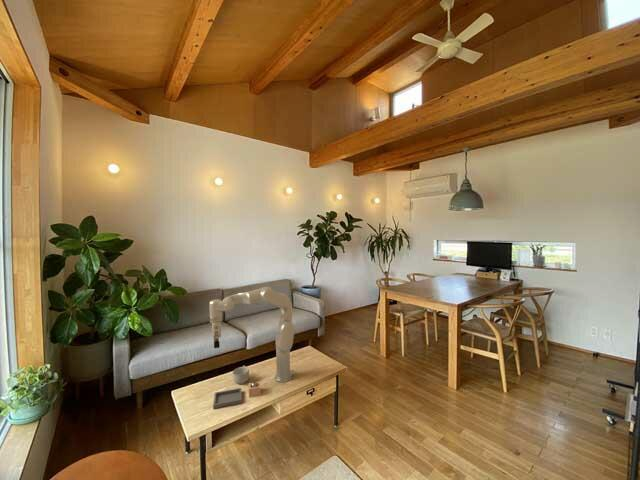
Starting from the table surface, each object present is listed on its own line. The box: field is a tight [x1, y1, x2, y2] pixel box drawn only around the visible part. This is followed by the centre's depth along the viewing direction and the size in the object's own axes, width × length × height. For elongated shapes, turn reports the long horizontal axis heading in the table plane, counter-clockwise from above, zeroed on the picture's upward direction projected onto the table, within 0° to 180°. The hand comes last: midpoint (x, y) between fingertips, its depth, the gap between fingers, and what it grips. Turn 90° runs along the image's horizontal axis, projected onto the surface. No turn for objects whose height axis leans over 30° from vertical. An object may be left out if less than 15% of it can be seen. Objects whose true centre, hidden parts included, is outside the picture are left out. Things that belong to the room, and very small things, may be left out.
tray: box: [212, 387, 243, 410], centre depth 165 cm, size 16×13×2 cm
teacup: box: [232, 365, 250, 385], centre depth 187 cm, size 14×11×8 cm
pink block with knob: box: [247, 381, 261, 398], centre depth 172 cm, size 7×7×5 cm
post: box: [251, 381, 258, 388], centre depth 172 cm, size 3×3×6 cm
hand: (216, 344), depth 175 cm, fingers open, 9 cm apart
